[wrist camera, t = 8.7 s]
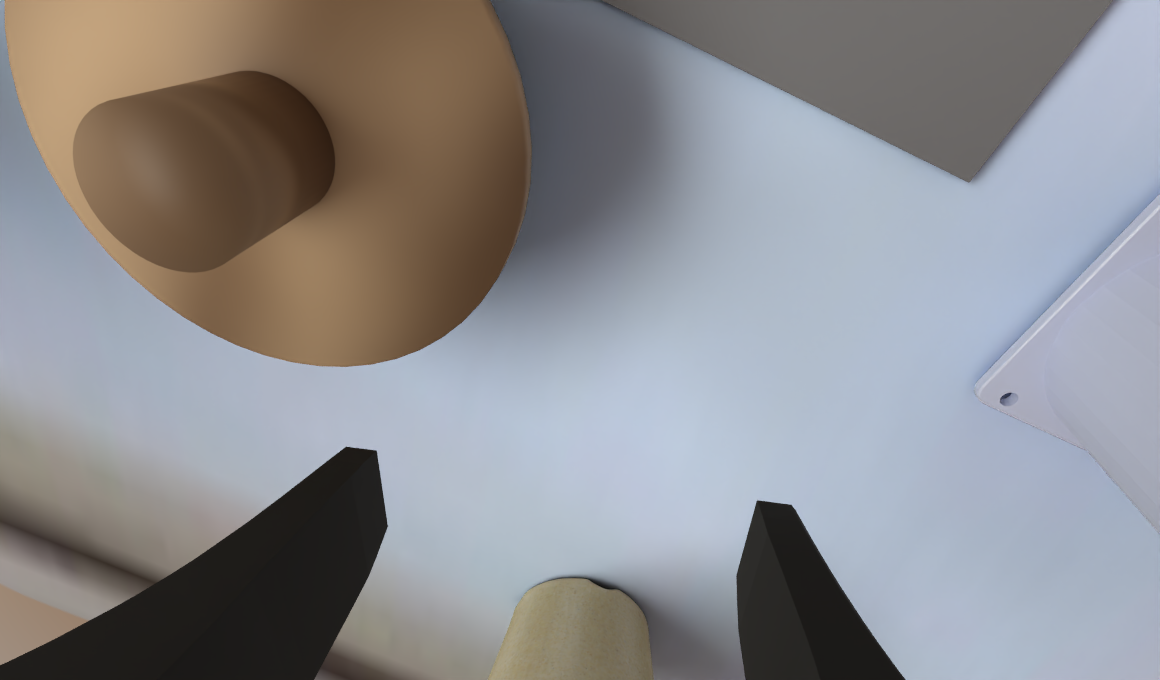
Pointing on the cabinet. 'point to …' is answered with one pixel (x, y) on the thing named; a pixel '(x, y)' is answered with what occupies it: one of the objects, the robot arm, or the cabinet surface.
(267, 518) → the robot arm
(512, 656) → the flower pot
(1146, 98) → the cabinet surface
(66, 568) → the cabinet surface
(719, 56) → the mat
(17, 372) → the cabinet surface
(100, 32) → the lid
